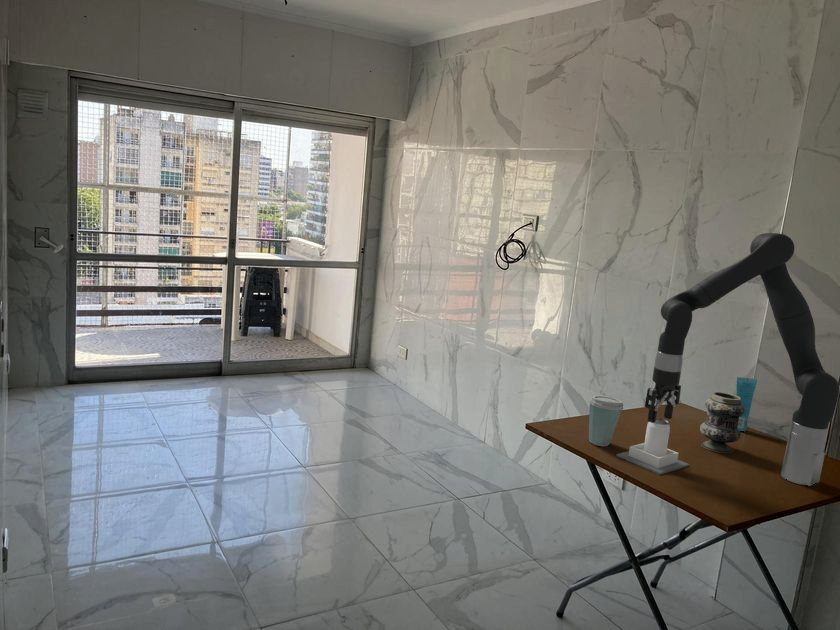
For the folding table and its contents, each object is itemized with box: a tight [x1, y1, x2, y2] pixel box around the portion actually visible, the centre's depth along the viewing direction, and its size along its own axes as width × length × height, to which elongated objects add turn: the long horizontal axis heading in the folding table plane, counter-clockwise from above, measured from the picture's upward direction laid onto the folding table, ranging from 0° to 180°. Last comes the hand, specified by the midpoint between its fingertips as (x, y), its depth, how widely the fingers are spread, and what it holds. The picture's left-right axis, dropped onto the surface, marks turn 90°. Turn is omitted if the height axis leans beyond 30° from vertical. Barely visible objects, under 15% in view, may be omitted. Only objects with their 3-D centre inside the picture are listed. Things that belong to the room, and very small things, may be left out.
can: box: [643, 417, 671, 457], centre depth 204 cm, size 6×6×12 cm
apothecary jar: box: [699, 391, 745, 455], centre depth 220 cm, size 12×12×18 cm
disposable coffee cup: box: [588, 394, 624, 447], centre depth 215 cm, size 11×11×15 cm
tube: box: [734, 376, 758, 432], centre depth 242 cm, size 7×5×19 cm, turn 99°
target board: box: [616, 442, 690, 476], centre depth 204 cm, size 15×15×4 cm
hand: (659, 420), depth 202 cm, fingers open, 8 cm apart
